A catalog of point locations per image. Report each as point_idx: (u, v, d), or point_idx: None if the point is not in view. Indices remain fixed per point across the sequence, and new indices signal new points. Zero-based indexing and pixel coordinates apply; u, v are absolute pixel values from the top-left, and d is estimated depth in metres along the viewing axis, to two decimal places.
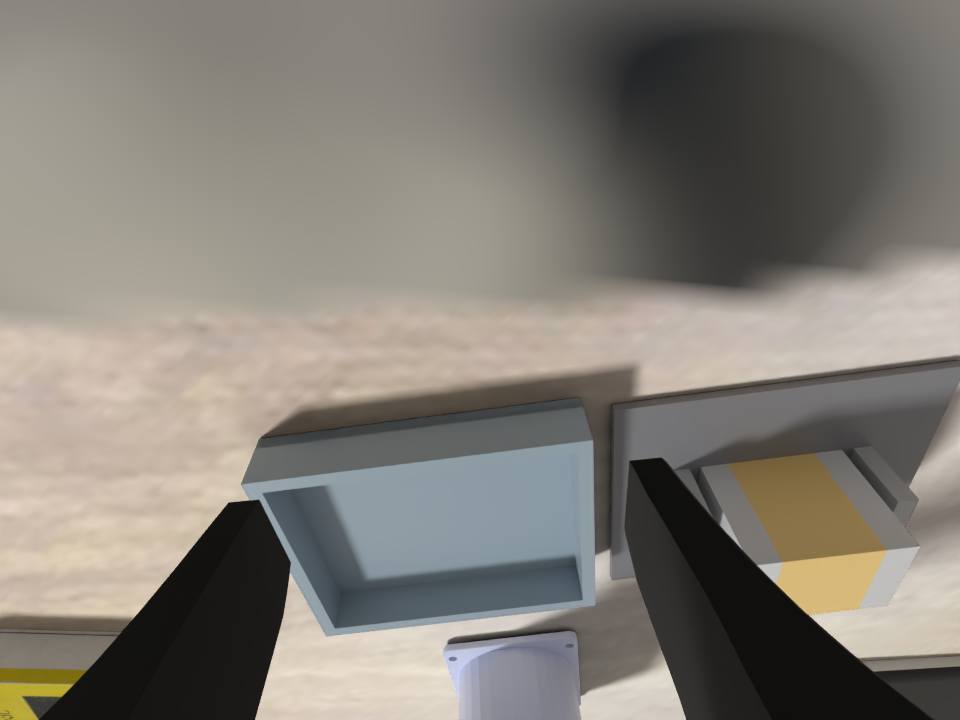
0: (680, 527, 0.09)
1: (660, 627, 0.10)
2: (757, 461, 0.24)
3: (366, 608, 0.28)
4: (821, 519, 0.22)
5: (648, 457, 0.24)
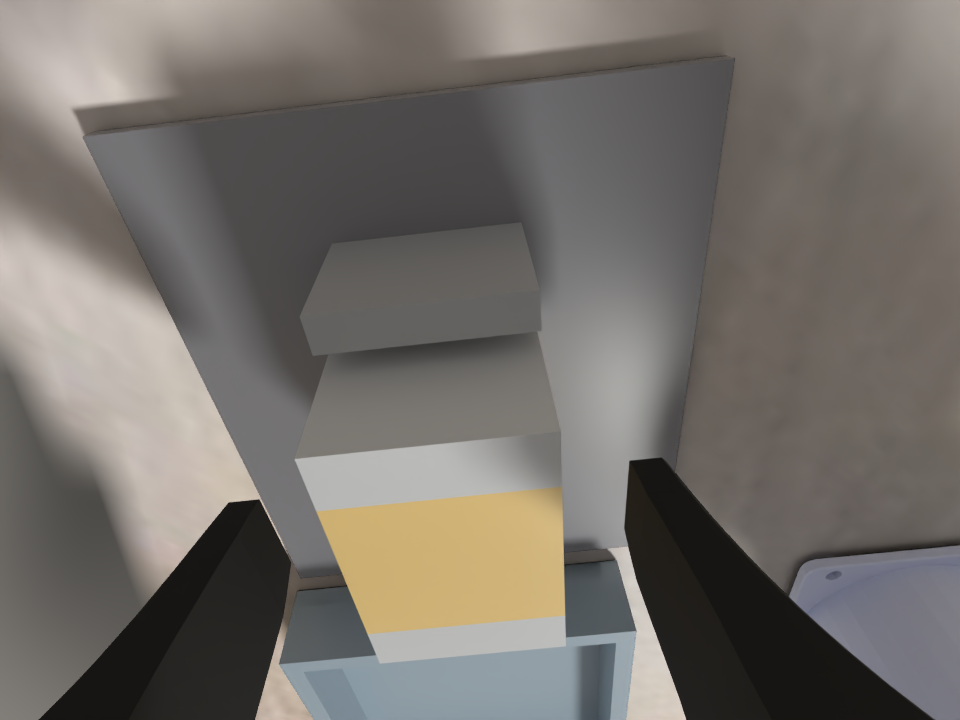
0: (680, 527, 0.09)
1: (660, 627, 0.10)
2: None
3: None
4: None
5: None
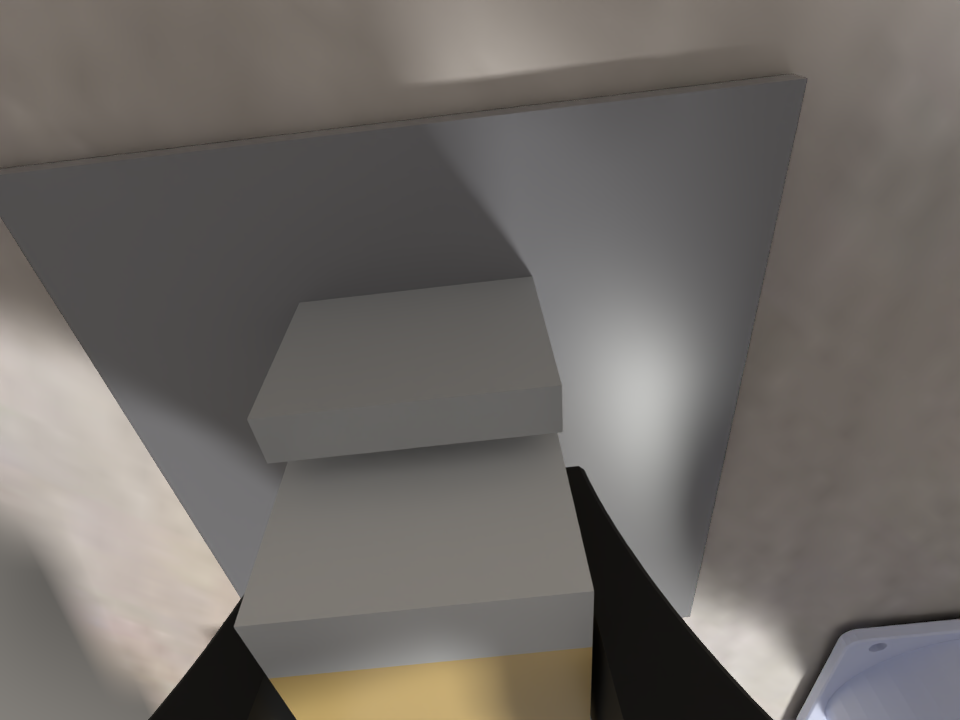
0: None
1: None
2: None
3: None
4: None
5: None
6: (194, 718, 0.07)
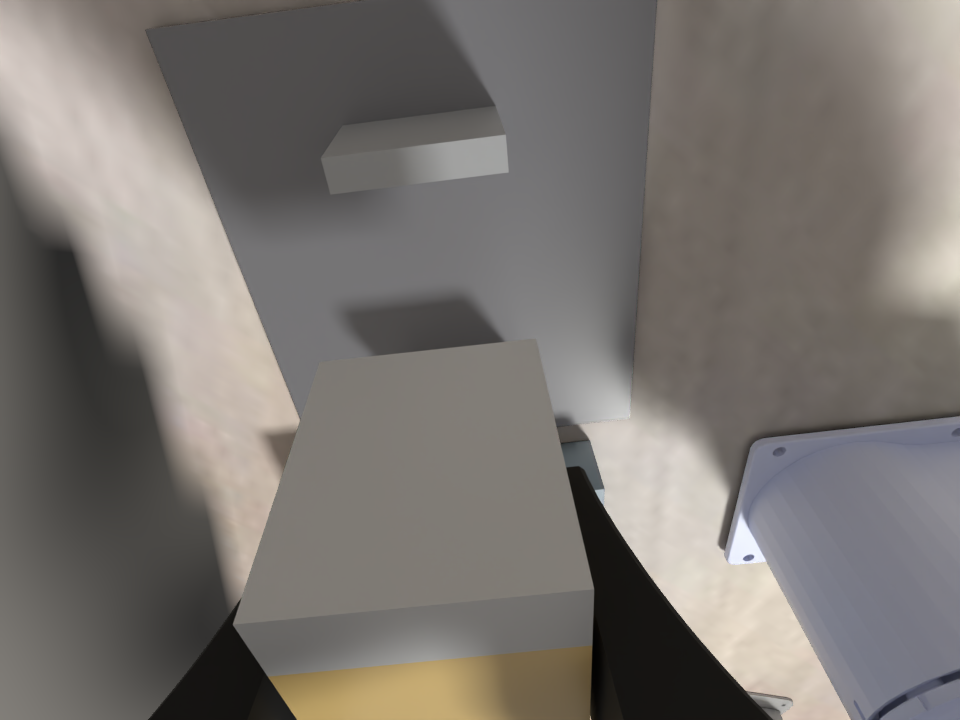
0: None
1: None
2: None
3: None
4: None
5: None
6: (194, 718, 0.07)
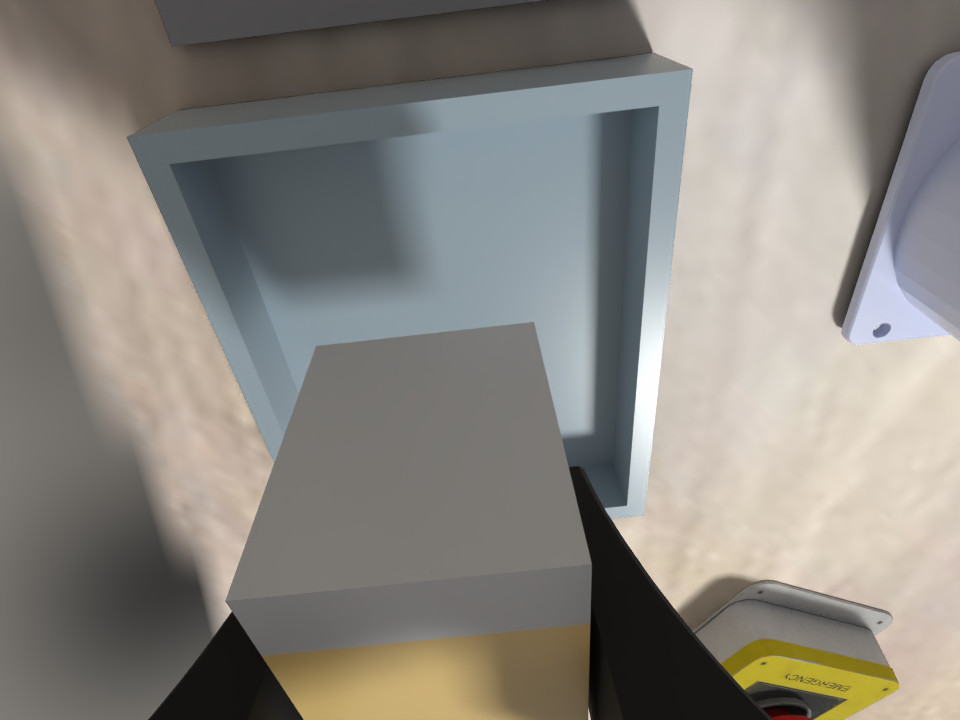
0: None
1: None
2: None
3: (622, 455, 0.18)
4: None
5: None
6: (193, 718, 0.07)
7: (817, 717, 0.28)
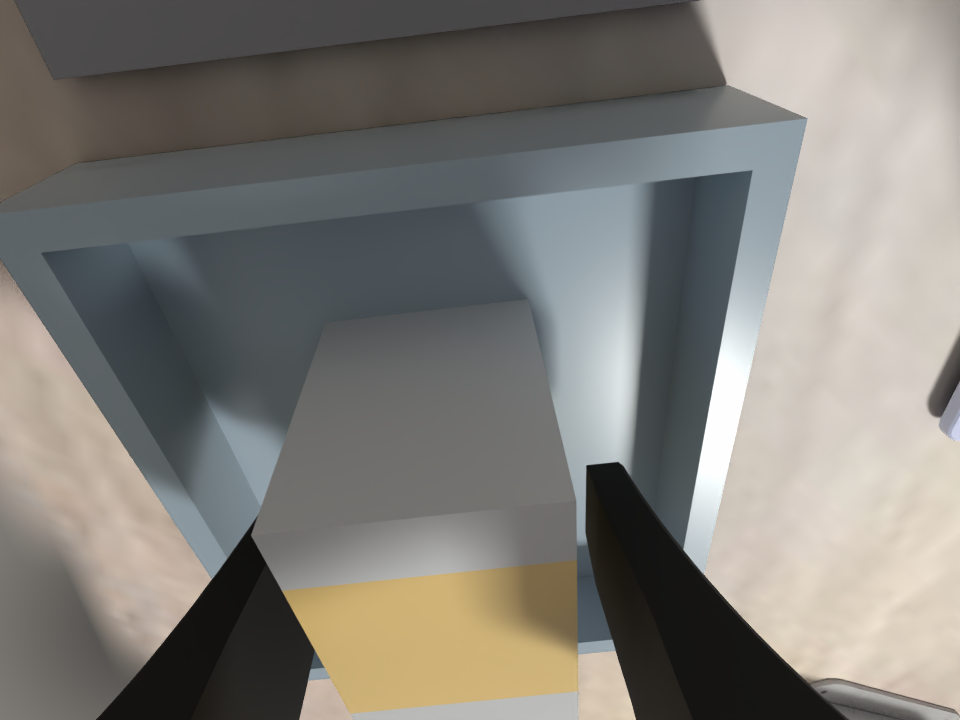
0: (628, 532, 0.09)
1: (615, 631, 0.10)
2: None
3: None
4: None
5: None
6: None
7: None
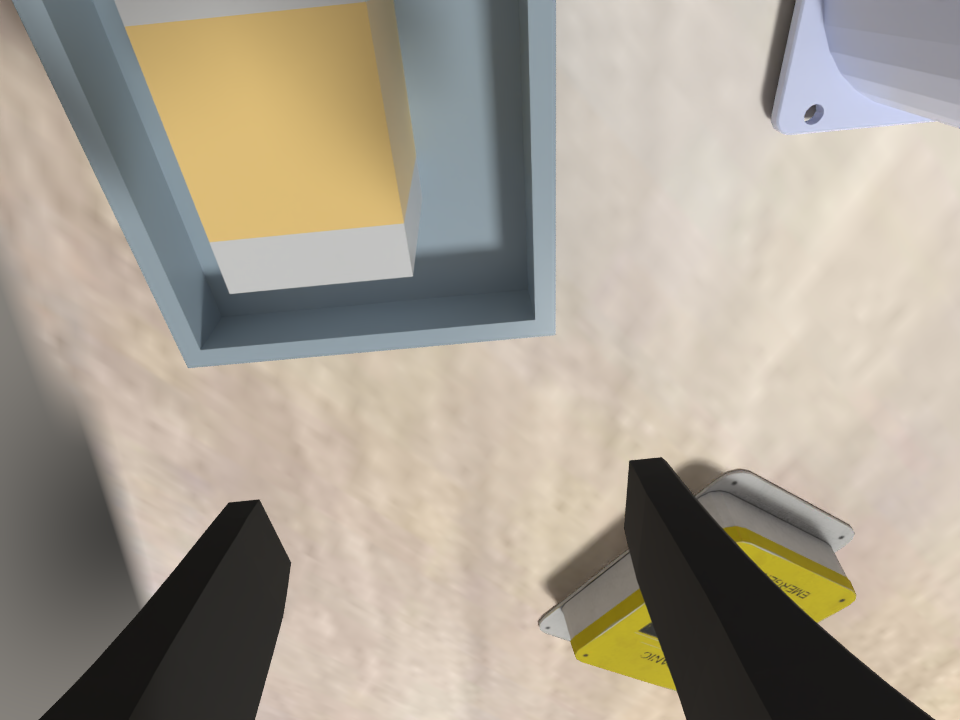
0: (680, 527, 0.09)
1: (660, 626, 0.10)
2: None
3: (530, 262, 0.16)
4: None
5: None
6: None
7: None
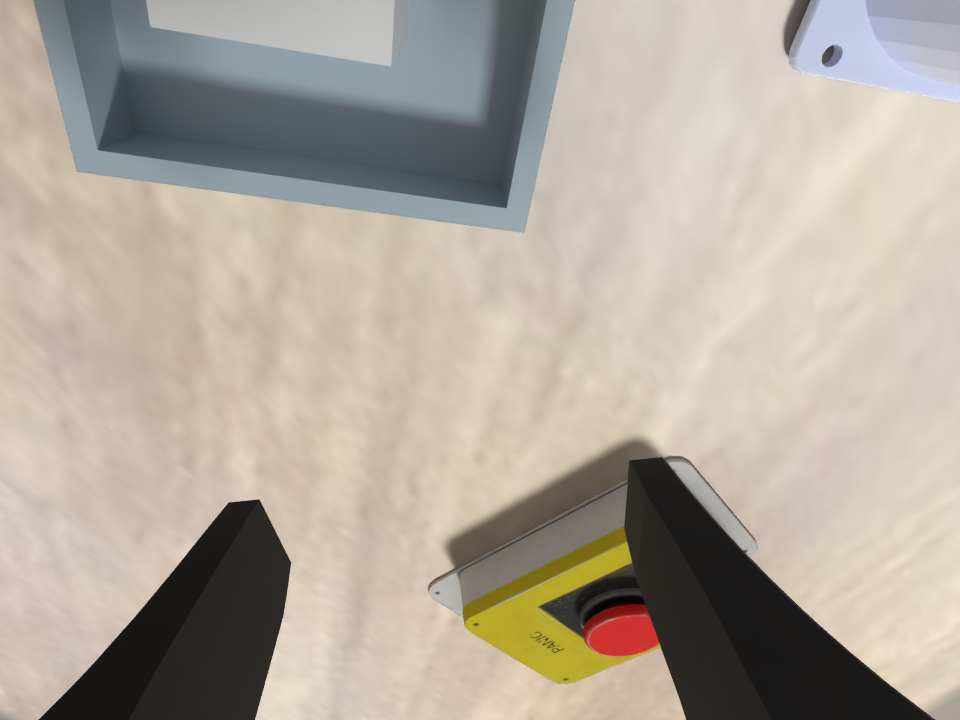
0: (680, 527, 0.09)
1: (660, 626, 0.10)
2: None
3: (514, 143, 0.14)
4: None
5: None
6: None
7: None
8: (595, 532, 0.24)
